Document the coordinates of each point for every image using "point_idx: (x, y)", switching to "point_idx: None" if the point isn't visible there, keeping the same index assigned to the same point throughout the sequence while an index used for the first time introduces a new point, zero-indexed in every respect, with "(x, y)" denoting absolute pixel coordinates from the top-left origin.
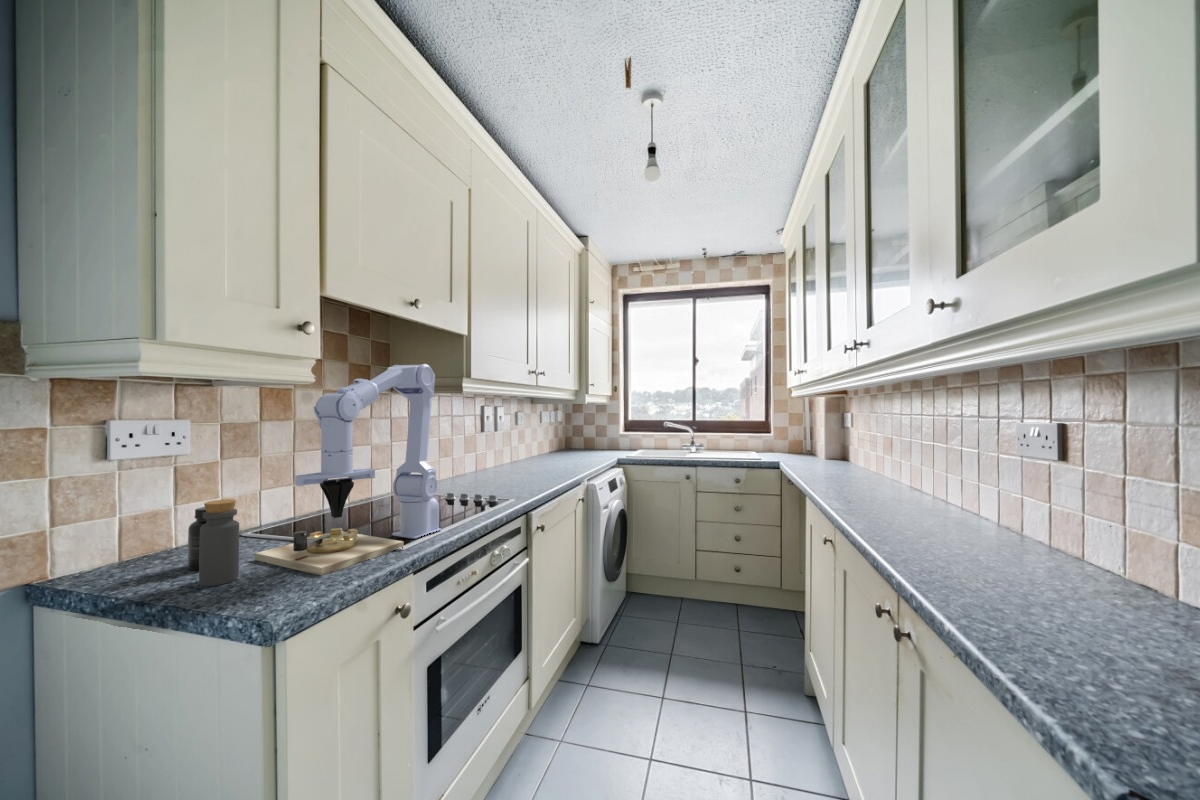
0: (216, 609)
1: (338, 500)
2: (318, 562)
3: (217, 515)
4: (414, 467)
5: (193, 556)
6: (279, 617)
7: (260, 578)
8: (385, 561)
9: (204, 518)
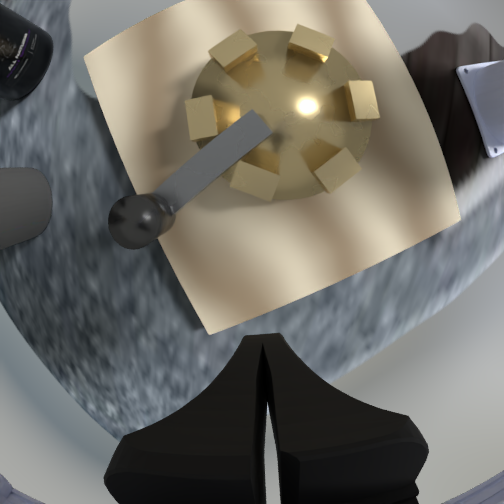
0: (57, 370)
1: (275, 432)
2: (208, 280)
3: None
4: None
5: None
6: None
7: (88, 244)
8: (373, 311)
9: None
